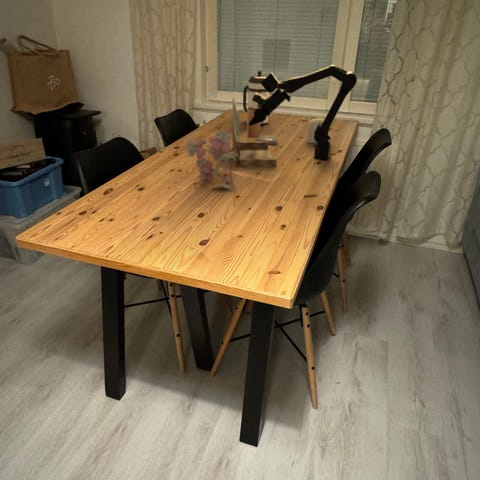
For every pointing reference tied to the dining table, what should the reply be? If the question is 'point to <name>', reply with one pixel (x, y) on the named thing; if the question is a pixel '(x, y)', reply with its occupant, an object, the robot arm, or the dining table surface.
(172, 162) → the dining table surface
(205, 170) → the flower
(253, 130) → the tan tapered cylinder
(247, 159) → the cold frame
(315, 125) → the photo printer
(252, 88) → the coffee press
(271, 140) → the grey plate
